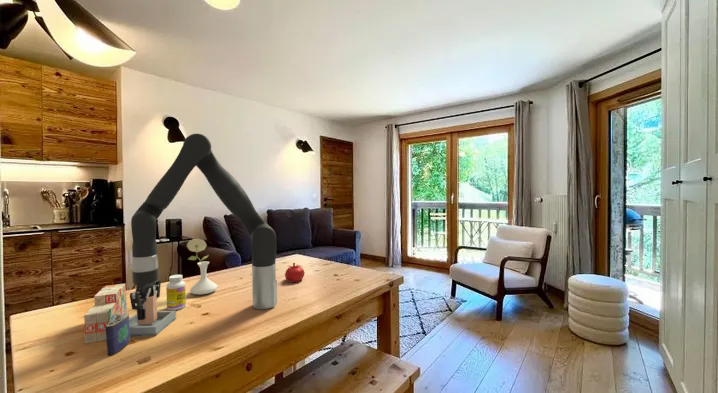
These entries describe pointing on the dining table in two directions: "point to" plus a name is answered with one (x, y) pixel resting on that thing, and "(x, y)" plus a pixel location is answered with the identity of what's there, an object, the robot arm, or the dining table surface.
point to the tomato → (294, 273)
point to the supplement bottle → (176, 293)
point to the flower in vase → (204, 283)
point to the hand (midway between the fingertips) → (147, 315)
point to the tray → (151, 324)
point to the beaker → (149, 310)
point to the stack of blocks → (104, 311)
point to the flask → (117, 334)
